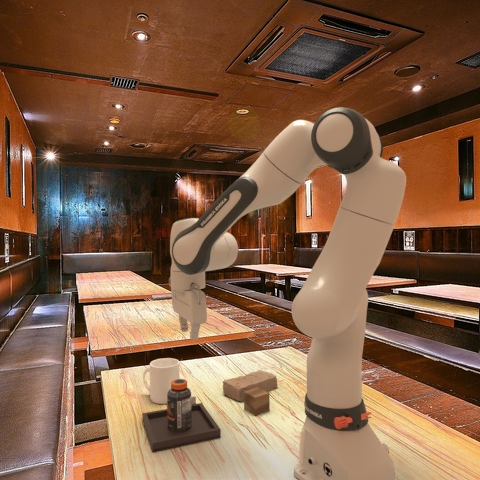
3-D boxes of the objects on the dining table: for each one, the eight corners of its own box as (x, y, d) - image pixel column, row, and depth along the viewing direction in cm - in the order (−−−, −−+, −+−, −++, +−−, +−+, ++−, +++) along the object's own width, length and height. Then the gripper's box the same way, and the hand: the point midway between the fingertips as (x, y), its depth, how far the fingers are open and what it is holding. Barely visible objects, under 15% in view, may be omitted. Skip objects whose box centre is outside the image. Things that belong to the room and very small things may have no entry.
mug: (152, 389, 122) (151, 355, 122) (185, 395, 117) (184, 359, 117) (134, 400, 114) (134, 363, 114) (169, 406, 109) (168, 368, 109)
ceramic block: (195, 410, 107) (195, 396, 107) (174, 414, 105) (174, 399, 105) (190, 402, 112) (190, 388, 112) (169, 405, 110) (169, 391, 110)
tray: (220, 437, 92) (220, 429, 92) (152, 452, 86) (152, 443, 86) (201, 410, 107) (201, 402, 107) (142, 420, 101) (142, 413, 101)
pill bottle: (165, 423, 98) (164, 379, 98) (187, 418, 100) (187, 375, 100) (170, 434, 92) (170, 387, 92) (194, 429, 95) (194, 383, 95)
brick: (260, 381, 128) (259, 367, 128) (278, 388, 122) (278, 373, 122) (221, 395, 117) (221, 380, 117) (240, 404, 111) (240, 388, 111)
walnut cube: (269, 411, 106) (269, 392, 106) (255, 416, 103) (255, 397, 103) (257, 404, 110) (257, 387, 110) (244, 409, 107) (243, 391, 107)
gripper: (212, 284, 91) (213, 343, 91) (189, 277, 110) (190, 326, 110) (186, 286, 89) (187, 346, 89) (167, 278, 108) (168, 328, 108)
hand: (189, 335), depth 100 cm, fingers open, 8 cm apart
